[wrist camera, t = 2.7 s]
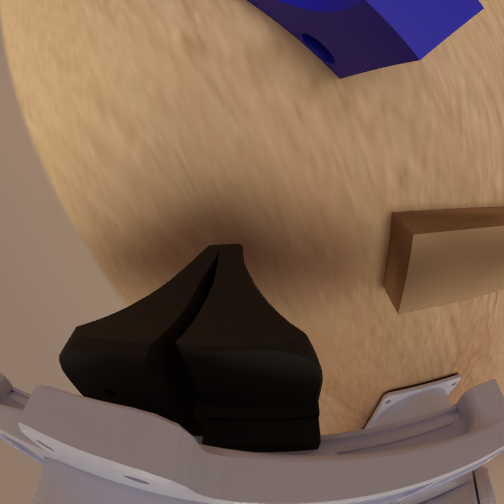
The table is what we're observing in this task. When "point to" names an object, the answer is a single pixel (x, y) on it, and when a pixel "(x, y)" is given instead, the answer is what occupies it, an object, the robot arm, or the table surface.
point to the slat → (444, 256)
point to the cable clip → (369, 28)
